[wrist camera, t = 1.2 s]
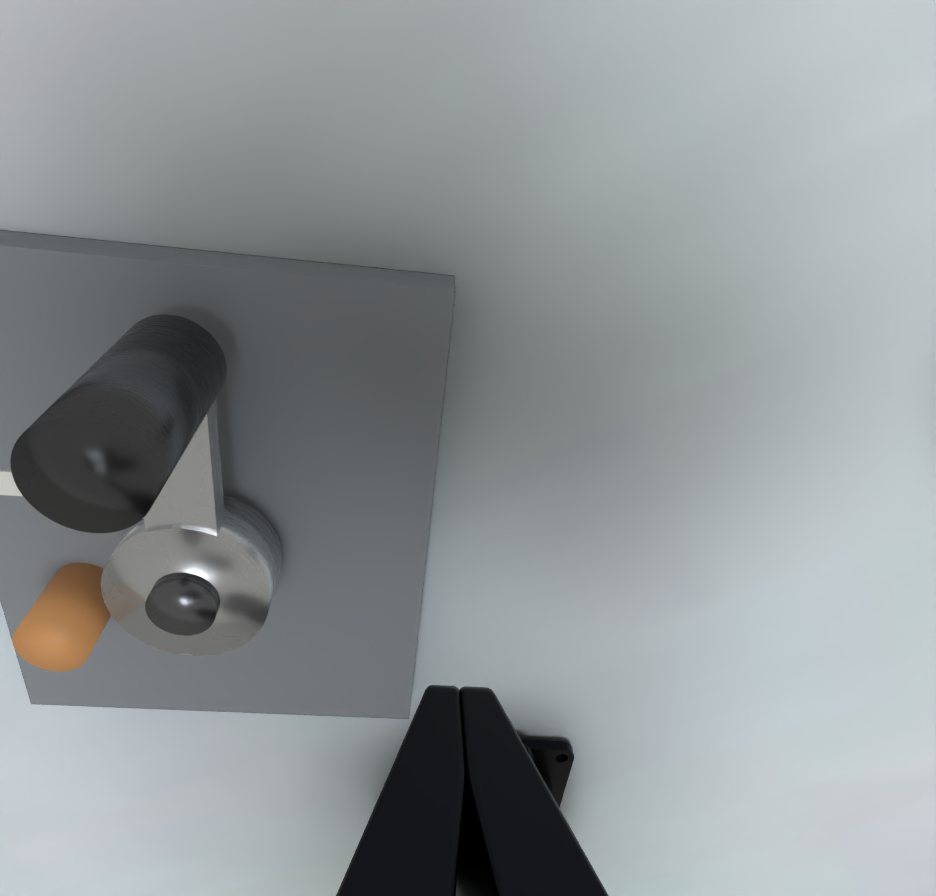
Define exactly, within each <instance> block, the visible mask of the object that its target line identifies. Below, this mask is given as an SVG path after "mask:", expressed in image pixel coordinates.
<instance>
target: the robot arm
mask: <svg viewBox="0 0 936 896" xmlns="http://www.w3.org/2000/svg"><path fill="white" fill-rule="evenodd" d="M573 760H574V754H573V749H572V746H571V744H569V743H567V742H563V741H537V740H521V739H520V738H519V736H518V734H517V732H516V731H515V729H514V727H513V725H512V724H511V722H510V720H509V718H508V716H507V715H506V713H505V711H504V709H503V708H502V706H501V704H500V702H499V700H498V699H497V697H496V695H495V694H494V692H493V691H492V690H491V689H489V688H486V687H462V688H461V689H460V690H459V689H458V688H457V687H455V686H441V685H430V686H428V687H427V689H426V690H425V692H424V695H423V697H422V699H421V701H420V704H419V706H418V708H417V711H416V713H415V715H414V718H413V720H412V722H411V724H410V727H409V729H408V731H407V734H406V736H405V738H404V741H403V743H402V745H401V748H400V750H399V752H398V754H397V757H396V759H395V761H394V764H393V766H392V768H391V771H390V773H389V775H388V777H387V780H386V782H385V784H384V787H383V789H382V791H381V794H380V796H379V798H378V801H377V803H376V805H375V807H374V810H373V812H372V814H371V817H370V819H369V821H368V824H367V826H366V828H365V830H364V833H363V835H362V837H361V840H360V842H359V844H358V847H357V849H356V851H355V854H354V856H353V858H352V860H351V863H350V865H349V867H348V870H347V872H346V874H345V877H344V879H343V881H342V883H341V886H340V888H339V890H338V893H337V895H336V896H608V894H607V892H606V890H605V889H604V887H603V885H602V883H601V881H600V880H599V878H598V876H597V874H596V873H595V871H594V869H593V867H592V865H591V864H590V862H589V860H588V858H587V857H586V855H585V853H584V851H583V850H582V848H581V846H580V844H579V842H578V841H577V839H576V837H575V835H574V834H573V832H572V830H571V828H570V826H569V825H568V823H567V821H566V819H565V818H564V816H563V814H562V812H561V810H560V809H559V807H560V803H561V800H562V797H563V793H564V790H565V787H566V783H567V780H568V777H569V773H570V770H571V767H572V763H573Z"/></svg>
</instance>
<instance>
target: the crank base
mask: <svg viewBox="0 0 936 896" xmlns="http://www.w3.org/2000/svg"><path fill="white" fill-rule="evenodd" d="M454 298H455V281H454V276H451V275H441V274H431V273H421V272H411V271H401V270H391V269H381V268H371V267H361V266H351V265H341V264H331V263H321V262H311V261H302V260H292V259H282V258H272V257H262V256H252V255H242V254H232V253H222V252H212V251H202V250H192V249H182V248H172V247H162V246H152V245H142V244H132V243H122V242H112V241H102V240H93V239H83V238H73V237H63V236H53V235H43V234H33V233H23V232H13V231H3V230H0V601H1V605H2V608H3V611H4V615H5V618H6V621H7V625H8V628H9V631H10V635H11V638H12V642H13V645H14V648H15V652H16V655H17V658H18V662H19V665H20V668H21V672H22V675H23V679H24V682H25V685H26V689H27V692H28V695H29V699H30V702H31V704H41V705H67V706H92V707H117V708H142V709H168V710H193V711H218V712H243V713H268V714H294V715H319V716H344V717H369V718H395V719H409V713H410V704H411V695H412V685H413V676H414V667H415V658H416V648H417V639H418V630H419V621H420V612H421V602H422V593H423V584H424V575H425V565H426V556H427V547H428V538H429V528H430V519H431V510H432V501H433V492H434V482H435V473H436V464H437V455H438V445H439V436H440V427H441V418H442V408H443V399H444V390H445V381H446V372H447V362H448V353H449V344H450V335H451V325H452V316H453V307H454ZM160 314H169V315H176V316H180V317H184V318H186V319H189V320H191V321H193V322H195V323H197V324H198V325H200V326H201V327H203V328H204V329H205V330H207V331H208V332H209V333H210V334H211V335H212V336H213V337H214V338H215V340H216V341H217V342H218V344H219V346H220V347H221V349H222V351H223V354H224V356H225V360H226V366H227V374H226V380H225V383H224V385H223V387H222V389H221V391H220V392H219V394H218V396H217V398H216V403H217V416H218V430H219V443H220V456H221V470H222V483H223V494H226V495H229V496H232V497H234V498H237V499H239V500H241V501H243V502H245V503H246V504H248V505H250V506H251V507H253V508H254V509H255V510H257V511H258V512H259V513H260V514H261V515H262V516H263V517H264V518H266V520H267V521H268V522H269V523H270V524H271V526H272V527H273V529H274V530H275V532H276V534H277V536H278V538H279V540H280V544H281V548H282V565H281V569H280V573H279V576H278V580H277V583H276V587H275V590H274V594H273V598H272V601H271V605H270V608H269V612H268V615H267V618H266V621H265V623H264V625H263V626H262V628H261V629H260V631H259V632H258V633H257V634H256V635H255V636H254V637H253V638H252V639H251V640H249V641H248V642H247V643H245V644H243V645H242V646H240V647H237V648H235V649H233V650H230V651H227V652H223V653H219V654H213V655H183V654H177V653H172V652H168V651H164V650H161V649H158V648H156V647H153V646H151V645H149V644H146V643H144V642H142V641H141V640H139V639H137V638H136V637H134V636H133V635H131V634H130V633H128V632H127V631H126V630H125V629H124V628H122V627H121V626H120V625H119V624H118V623H117V621H116V620H115V619H114V618H113V617H112V615H111V614H110V612H109V611H108V609H107V607H106V605H105V603H104V600H103V597H102V593H101V577H102V573H103V569H104V567H105V565H106V563H107V562H108V560H109V558H110V557H111V555H112V553H113V552H114V550H115V549H116V547H117V545H118V544H119V542H120V540H121V539H122V537H123V536H124V534H125V532H126V531H127V529H128V528H127V529H124V530H121V531H117V532H112V533H88V532H82V531H77V530H74V529H71V528H67V527H65V526H62V525H60V524H58V523H56V522H54V521H52V520H50V519H49V518H47V517H45V516H44V515H42V514H41V513H40V512H38V511H37V510H36V509H35V508H34V507H33V506H32V505H31V504H29V503H28V501H27V500H26V499H25V498H24V497H23V495H22V494H21V492H20V491H19V489H18V488H17V486H16V484H15V482H14V479H13V476H12V472H11V466H10V458H11V453H12V449H13V447H14V444H15V443H16V441H17V439H18V438H19V437H20V436H21V435H22V433H23V432H24V431H25V430H27V429H28V428H29V427H30V426H31V425H32V424H33V423H34V422H35V421H36V420H37V419H38V418H39V417H40V416H41V415H42V414H43V413H44V412H45V411H46V410H47V409H48V408H49V407H50V406H51V405H52V404H53V403H54V402H55V401H56V400H57V399H58V398H59V397H60V396H61V395H62V394H63V393H64V392H65V391H66V390H67V389H68V388H70V387H71V386H72V385H73V384H74V383H75V382H76V381H77V380H78V379H79V378H80V377H81V376H82V375H83V374H84V373H85V372H86V371H87V370H88V369H89V368H90V367H91V366H92V365H93V364H94V363H95V362H96V361H97V360H98V359H99V358H100V357H101V356H102V355H103V354H104V353H105V352H106V351H107V350H108V349H109V348H110V347H111V346H113V345H114V344H115V343H116V342H117V341H118V340H119V339H120V338H121V337H122V336H123V335H124V334H125V333H126V332H127V331H128V330H129V329H130V328H131V327H132V326H133V325H134V324H136V323H137V322H138V321H140V320H142V319H144V318H146V317H149V316H153V315H160Z"/></svg>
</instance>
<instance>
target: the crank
mask: <svg viewBox="0 0 936 896" xmlns="http://www.w3.org/2000/svg"><path fill="white" fill-rule="evenodd" d="M226 374H227V366H226V360H225V356H224V354H223V351H222V349H221V347H220V346H219V344H218V342H217V341H216V340H215V338H214V337H213V336H212V335H211V334H210V333H209V332H208V331H207V330H205V329H204V328H203V327H201V326H200V325H198V324H197V323H195V322H193V321H191V320H189V319H186V318H184V317H180V316H176V315H169V314H160V315H153V316H149V317H146V318H144V319H142V320H140V321H138V322H137V323H136V324H134V325H133V326H132V327H131V328H130V329H129V330H128V331H127V332H126V333H125V334H124V335H123V336H122V337H121V338H120V339H119V340H118V341H117V342H116V343H115V344H114V345H113V346H111V347H110V348H109V349H108V350H107V351H106V352H105V353H104V354H103V355H102V356H101V357H100V358H99V359H98V360H97V361H96V362H95V363H94V364H93V365H92V366H91V367H90V368H89V369H88V370H87V371H86V372H85V373H84V374H83V375H82V376H81V377H80V378H79V379H78V380H77V381H76V382H75V383H74V384H73V385H72V386H71V387H70V388H68V389H67V390H66V391H65V392H64V393H63V394H62V395H61V396H60V397H59V398H58V399H57V400H56V401H55V402H54V403H53V404H52V405H51V406H50V407H49V408H48V409H47V410H46V411H45V412H44V413H43V414H42V415H41V416H40V417H39V418H38V419H37V420H36V421H35V422H34V423H33V424H32V425H31V426H30V427H29V428H28V429H27V430H25V431H24V432H23V433H22V435H21V436H20V437H19V438H18V439H17V441H16V443H15V444H14V447H13V449H12V453H11V458H10V466H11V472H12V476H13V479H14V482H15V484H16V486H17V488H18V489H19V491H20V492H21V494H22V495H23V497H24V498H25V499H26V500H27V501H28V503H29V504H31V505H32V506H33V507H34V508H35V509H36V510H37V511H38V512H40V513H41V514H42V515H44V516H45V517H47V518H49V519H50V520H52V521H54V522H56V523H58V524H60V525H62V526H65V527H67V528H71V529H74V530H77V531H82V532H88V533H112V532H117V531H121V530H124V529H127V528H128V529H127V531H126V532H125V534H124V536H123V537H122V539H121V540H120V542H119V544H118V545H117V547H116V549H115V550H114V552H113V553H112V555H111V557H110V558H109V560H108V562H107V563H106V565H105V567H104V569H103V573H102V577H101V593H102V597H103V600H104V603H105V605H106V607H107V609H108V611H109V612H110V614H111V615H112V617H113V618H114V619H115V620H116V621H117V623H118V624H119V625H120V626H121V627H122V628H124V629H125V630H126V631H127V632H128V633H130V634H131V635H133V636H134V637H136V638H137V639H139V640H141V641H142V642H144V643H146V644H149V645H151V646H153V647H156V648H158V649H161V650H164V651H168V652H172V653H177V654H183V655H213V654H219V653H223V652H227V651H230V650H233V649H235V648H237V647H240V646H242V645H243V644H245V643H247V642H248V641H249V640H251V639H252V638H253V637H254V636H255V635H256V634H257V633H258V632H259V631H260V629H261V628H262V626H263V625H264V623H265V621H266V618H267V615H268V612H269V608H270V605H271V601H272V598H273V594H274V590H275V587H276V583H277V580H278V576H279V573H280V569H281V565H282V548H281V544H280V540H279V538H278V536H277V534H276V532H275V530H274V529H273V527H272V526H271V524H270V523H269V522H268V521H267V520H266V518H264V517H263V516H262V515H261V514H260V513H259V512H258V511H257V510H255V509H254V508H253V507H251V506H250V505H248V504H246V503H245V502H243V501H241V500H239V499H237V498H234V497H232V496H229V495H226V494H223V483H222V470H221V456H220V443H219V430H218V416H217V403H216V398H217V396H218V394H219V392H220V391H221V389H222V387H223V385H224V383H225V380H226Z"/></svg>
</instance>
